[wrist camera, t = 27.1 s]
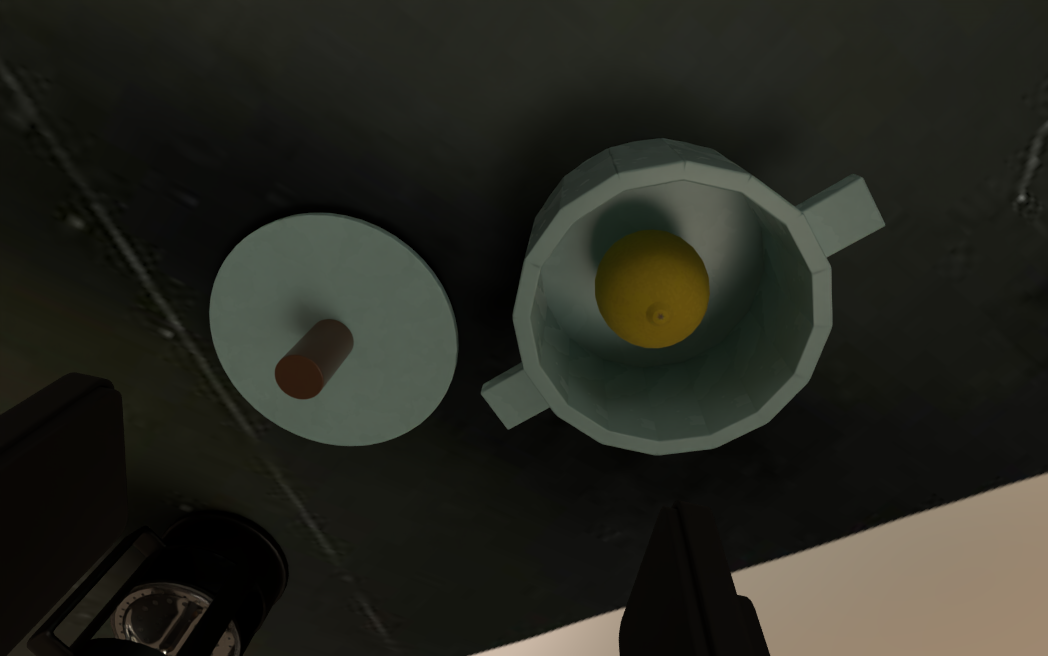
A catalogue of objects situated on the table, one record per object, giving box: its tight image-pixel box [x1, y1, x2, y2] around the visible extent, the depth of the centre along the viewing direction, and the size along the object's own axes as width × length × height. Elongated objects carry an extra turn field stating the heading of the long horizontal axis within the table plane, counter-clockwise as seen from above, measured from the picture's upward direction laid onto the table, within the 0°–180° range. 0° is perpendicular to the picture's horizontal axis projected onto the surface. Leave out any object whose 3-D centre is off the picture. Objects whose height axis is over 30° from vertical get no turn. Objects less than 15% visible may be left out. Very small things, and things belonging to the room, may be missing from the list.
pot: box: [481, 138, 885, 455], centre depth 32 cm, size 14×19×8 cm
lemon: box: [595, 229, 710, 348], centre depth 32 cm, size 6×6×8 cm
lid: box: [209, 213, 458, 446], centre depth 36 cm, size 15×15×6 cm
